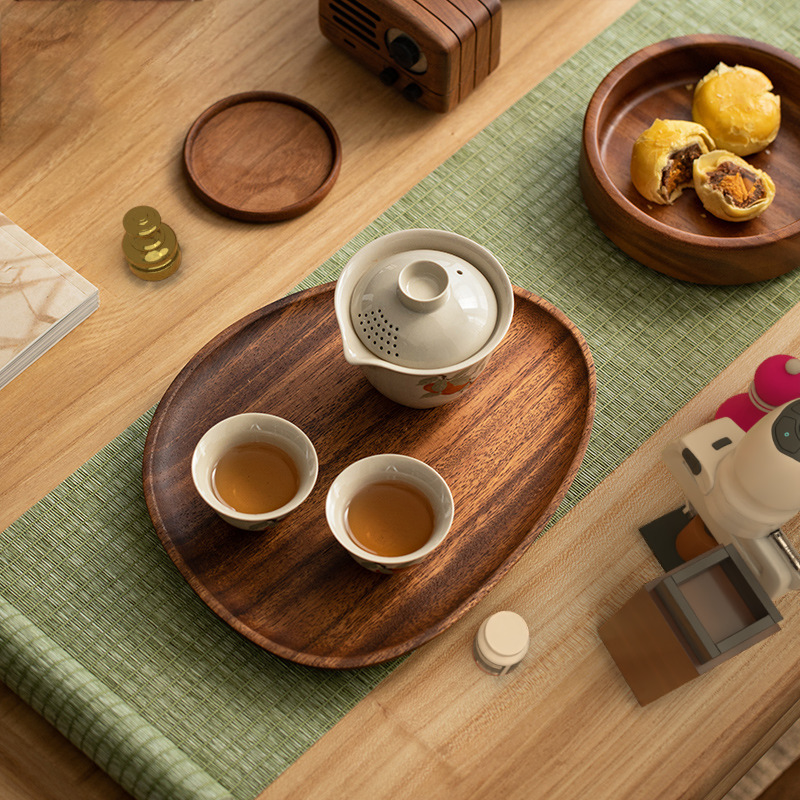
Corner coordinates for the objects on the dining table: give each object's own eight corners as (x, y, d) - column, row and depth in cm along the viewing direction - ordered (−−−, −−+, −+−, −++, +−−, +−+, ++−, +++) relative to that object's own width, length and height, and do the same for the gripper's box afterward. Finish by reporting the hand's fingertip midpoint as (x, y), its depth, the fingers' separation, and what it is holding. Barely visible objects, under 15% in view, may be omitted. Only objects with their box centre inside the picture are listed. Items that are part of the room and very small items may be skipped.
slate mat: (704, 495, 116) (705, 494, 115) (752, 565, 112) (753, 563, 111) (637, 529, 113) (639, 527, 113) (684, 601, 109) (686, 600, 109)
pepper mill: (770, 435, 120) (842, 361, 102) (741, 474, 117) (809, 404, 99) (723, 402, 122) (785, 322, 104) (693, 439, 119) (752, 364, 101)
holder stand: (664, 594, 110) (733, 533, 89) (711, 668, 106) (795, 622, 85) (596, 630, 107) (651, 576, 87) (642, 707, 104) (710, 669, 83)
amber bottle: (699, 521, 113) (725, 495, 105) (722, 555, 111) (750, 531, 103) (667, 537, 112) (691, 512, 104) (690, 572, 110) (716, 549, 102)
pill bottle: (512, 621, 108) (525, 600, 99) (527, 670, 105) (541, 652, 96) (465, 633, 107) (474, 612, 98) (478, 682, 104) (489, 665, 95)
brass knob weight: (160, 229, 131) (145, 183, 122) (193, 261, 128) (180, 216, 120) (117, 259, 128) (99, 213, 119) (150, 291, 126) (134, 248, 117)
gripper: (837, 567, 93) (781, 602, 105) (718, 404, 101) (679, 454, 113) (788, 595, 91) (736, 627, 104) (671, 427, 99) (636, 475, 111)
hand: (705, 535), depth 108 cm, fingers closed on amber bottle, 5 cm apart
